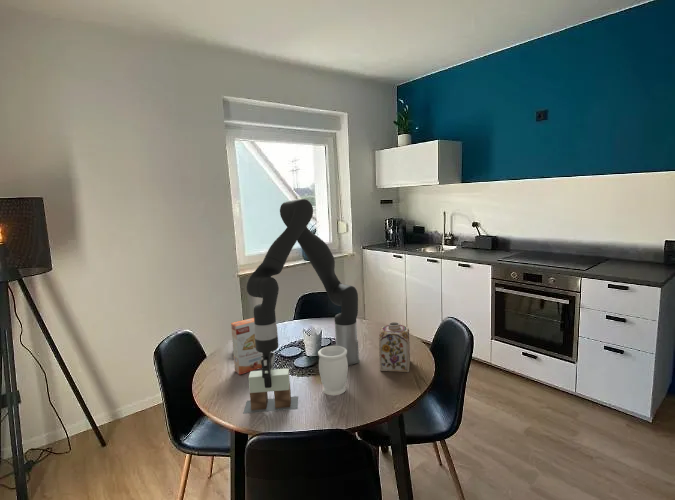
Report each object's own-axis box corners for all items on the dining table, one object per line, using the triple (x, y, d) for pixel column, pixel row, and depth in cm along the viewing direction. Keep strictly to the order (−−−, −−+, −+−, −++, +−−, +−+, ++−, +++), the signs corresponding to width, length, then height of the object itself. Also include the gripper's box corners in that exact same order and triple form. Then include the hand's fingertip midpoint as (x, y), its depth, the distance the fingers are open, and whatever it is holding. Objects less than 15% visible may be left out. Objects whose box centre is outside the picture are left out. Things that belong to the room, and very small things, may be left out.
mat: (298, 397, 133) (298, 396, 133) (297, 409, 125) (297, 408, 125) (247, 401, 132) (246, 400, 132) (242, 414, 124) (242, 413, 124)
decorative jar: (409, 373, 147) (408, 329, 145) (379, 371, 150) (378, 328, 147) (410, 360, 159) (409, 319, 156) (382, 358, 161) (381, 318, 159)
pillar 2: (291, 399, 131) (290, 383, 130) (290, 407, 126) (289, 390, 125) (276, 400, 131) (275, 384, 130) (275, 408, 126) (274, 391, 125)
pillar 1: (268, 401, 131) (266, 384, 130) (266, 408, 126) (265, 392, 125) (253, 402, 130) (252, 386, 130) (251, 410, 125) (249, 393, 125)
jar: (339, 400, 130) (336, 359, 127) (314, 393, 135) (312, 353, 133) (354, 386, 138) (352, 348, 136) (330, 380, 144) (328, 343, 142)
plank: (289, 383, 130) (288, 368, 129) (289, 389, 126) (287, 374, 125) (251, 386, 129) (250, 371, 129) (249, 393, 125) (248, 377, 124)
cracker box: (239, 375, 152) (235, 326, 149) (234, 370, 157) (230, 322, 154) (271, 365, 160) (267, 318, 157) (265, 361, 165) (261, 315, 162)
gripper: (275, 342, 118) (279, 390, 120) (279, 327, 132) (282, 370, 134) (251, 344, 118) (255, 392, 120) (257, 328, 132) (261, 372, 134)
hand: (269, 381), depth 127 cm, fingers open, 8 cm apart
